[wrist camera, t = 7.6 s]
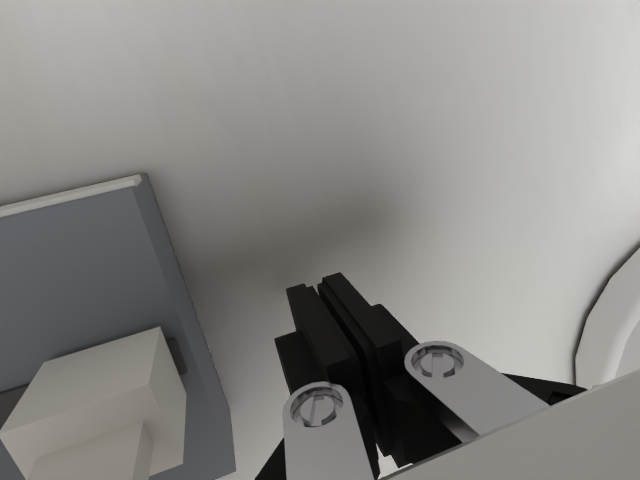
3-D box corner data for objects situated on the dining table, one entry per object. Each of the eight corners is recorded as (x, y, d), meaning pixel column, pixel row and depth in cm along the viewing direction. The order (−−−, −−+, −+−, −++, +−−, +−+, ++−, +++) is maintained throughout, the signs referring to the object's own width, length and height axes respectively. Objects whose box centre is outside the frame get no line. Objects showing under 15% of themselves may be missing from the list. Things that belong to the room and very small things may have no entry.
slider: (80, 431, 11) (17, 593, 7) (44, 362, 10) (-48, 504, 7) (186, 393, 12) (179, 527, 8) (159, 326, 11) (137, 438, 7)
